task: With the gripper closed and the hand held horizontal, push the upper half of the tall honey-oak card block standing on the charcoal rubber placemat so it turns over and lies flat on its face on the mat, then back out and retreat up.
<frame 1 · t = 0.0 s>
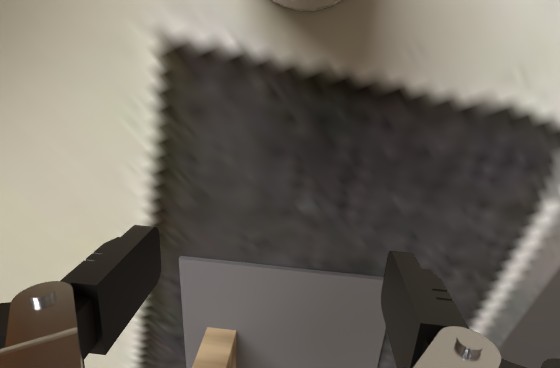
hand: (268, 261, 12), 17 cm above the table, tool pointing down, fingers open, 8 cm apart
oak card block: (222, 350, 37), resting on charcoal placemat
charcoal placemat: (279, 353, 37), on the table
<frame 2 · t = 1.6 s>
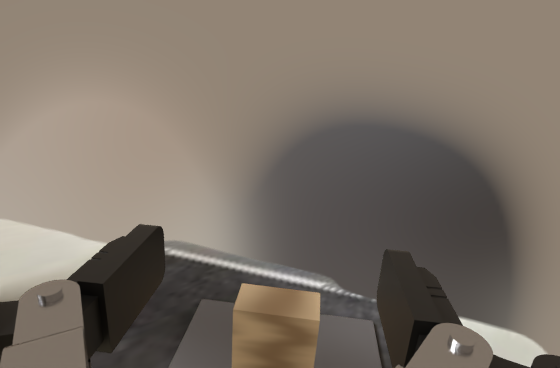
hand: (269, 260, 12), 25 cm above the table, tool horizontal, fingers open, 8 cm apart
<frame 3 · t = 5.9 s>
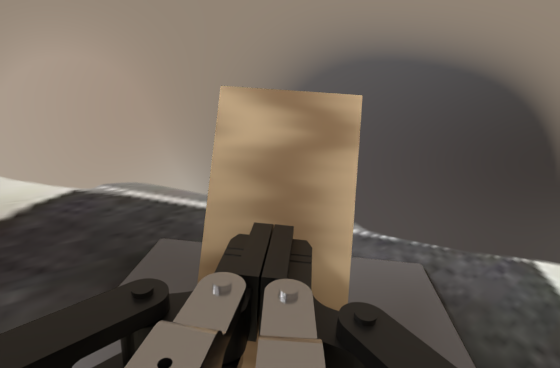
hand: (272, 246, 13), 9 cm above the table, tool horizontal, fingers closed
charcoal placemat: (274, 343, 21), on the table
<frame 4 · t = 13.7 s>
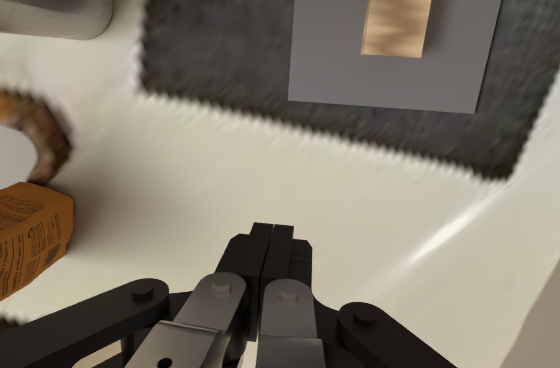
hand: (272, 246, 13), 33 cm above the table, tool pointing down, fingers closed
coffee package: (45, 219, 53), on the table
oak card block: (389, 56, 39), point 2 cm above the table, tilted 90°, touching charcoal placemat
charcoal placemat: (392, 15, 40), on the table
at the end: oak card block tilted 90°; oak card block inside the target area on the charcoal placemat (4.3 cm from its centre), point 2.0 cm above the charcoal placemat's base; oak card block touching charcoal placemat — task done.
